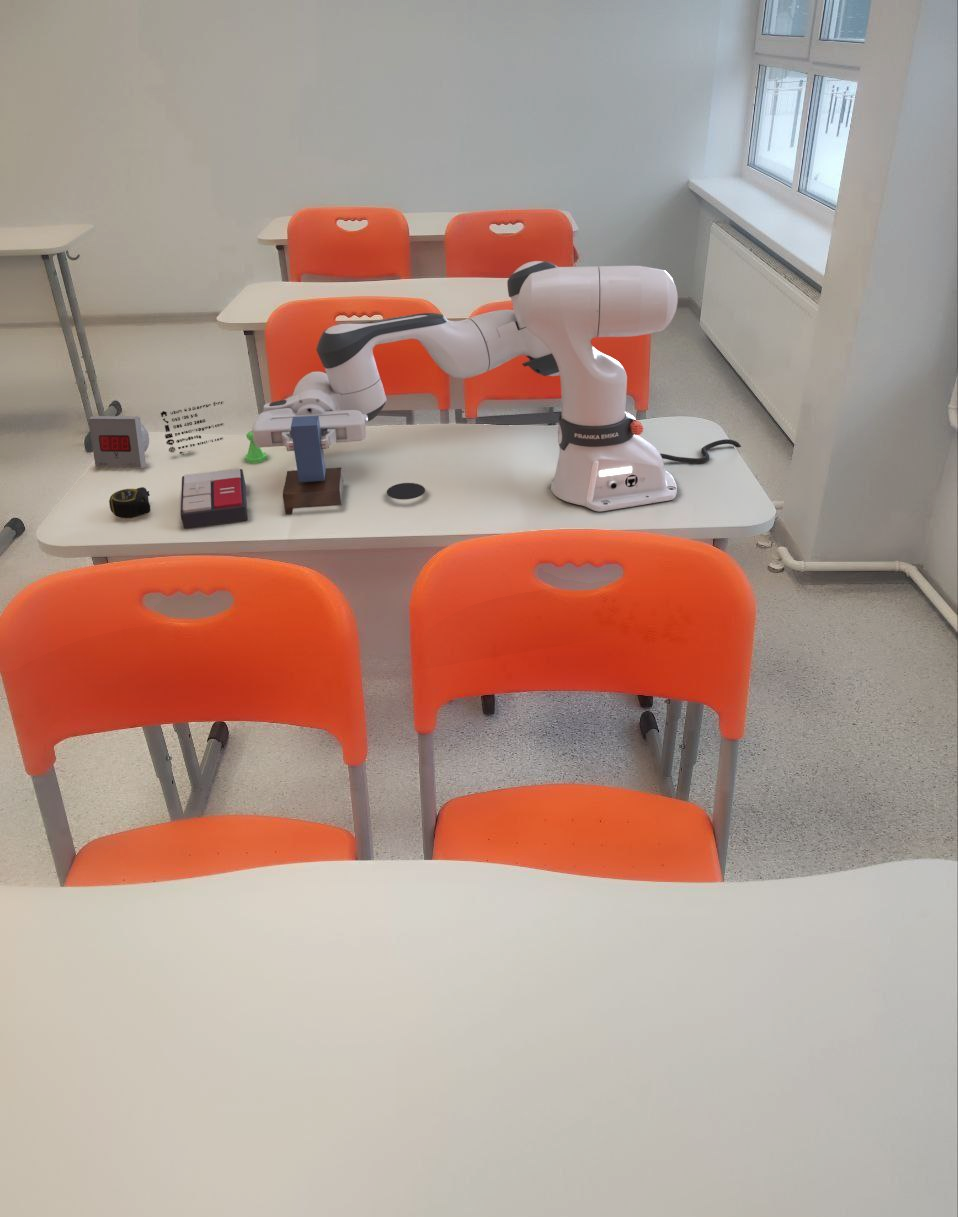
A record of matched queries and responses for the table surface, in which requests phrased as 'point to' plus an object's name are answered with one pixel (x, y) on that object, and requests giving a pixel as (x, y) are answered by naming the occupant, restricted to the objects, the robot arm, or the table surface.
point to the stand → (313, 490)
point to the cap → (405, 491)
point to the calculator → (213, 498)
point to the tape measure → (130, 503)
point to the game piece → (254, 451)
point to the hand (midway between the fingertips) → (307, 445)
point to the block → (308, 448)
